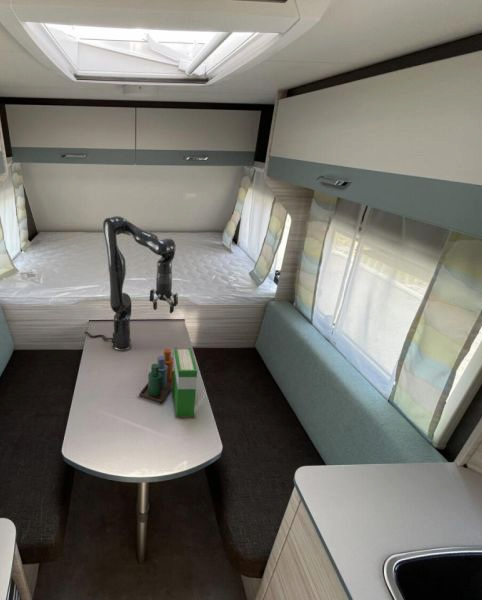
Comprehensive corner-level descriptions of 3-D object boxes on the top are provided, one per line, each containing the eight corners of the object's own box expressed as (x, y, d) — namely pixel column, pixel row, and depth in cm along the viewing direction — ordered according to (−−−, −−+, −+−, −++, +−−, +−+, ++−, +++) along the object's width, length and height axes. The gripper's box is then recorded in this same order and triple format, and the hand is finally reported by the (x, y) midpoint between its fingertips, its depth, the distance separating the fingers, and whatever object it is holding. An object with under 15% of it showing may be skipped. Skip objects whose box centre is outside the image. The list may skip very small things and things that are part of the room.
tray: (139, 397, 152) (139, 393, 151) (159, 370, 171) (160, 367, 170) (161, 404, 147) (161, 401, 146) (179, 376, 166) (180, 373, 165)
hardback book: (172, 390, 156) (174, 347, 147) (188, 390, 156) (191, 347, 147) (176, 417, 140) (178, 371, 130) (193, 417, 140) (197, 371, 130)
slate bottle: (152, 387, 157) (152, 359, 151) (157, 380, 162) (158, 353, 156) (163, 391, 155) (164, 362, 148) (168, 383, 160) (169, 356, 153)
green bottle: (145, 395, 152) (146, 367, 145) (151, 388, 156) (151, 360, 150) (157, 399, 149) (158, 371, 143) (162, 392, 154) (163, 364, 148)
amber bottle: (158, 379, 163) (159, 352, 157) (163, 372, 168) (164, 346, 162) (169, 382, 161) (170, 355, 154) (174, 376, 166) (175, 349, 159)
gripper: (180, 280, 156) (179, 311, 163) (154, 276, 162) (153, 305, 169) (175, 285, 150) (173, 317, 157) (147, 280, 156) (147, 311, 163)
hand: (163, 311), depth 163 cm, fingers open, 8 cm apart
